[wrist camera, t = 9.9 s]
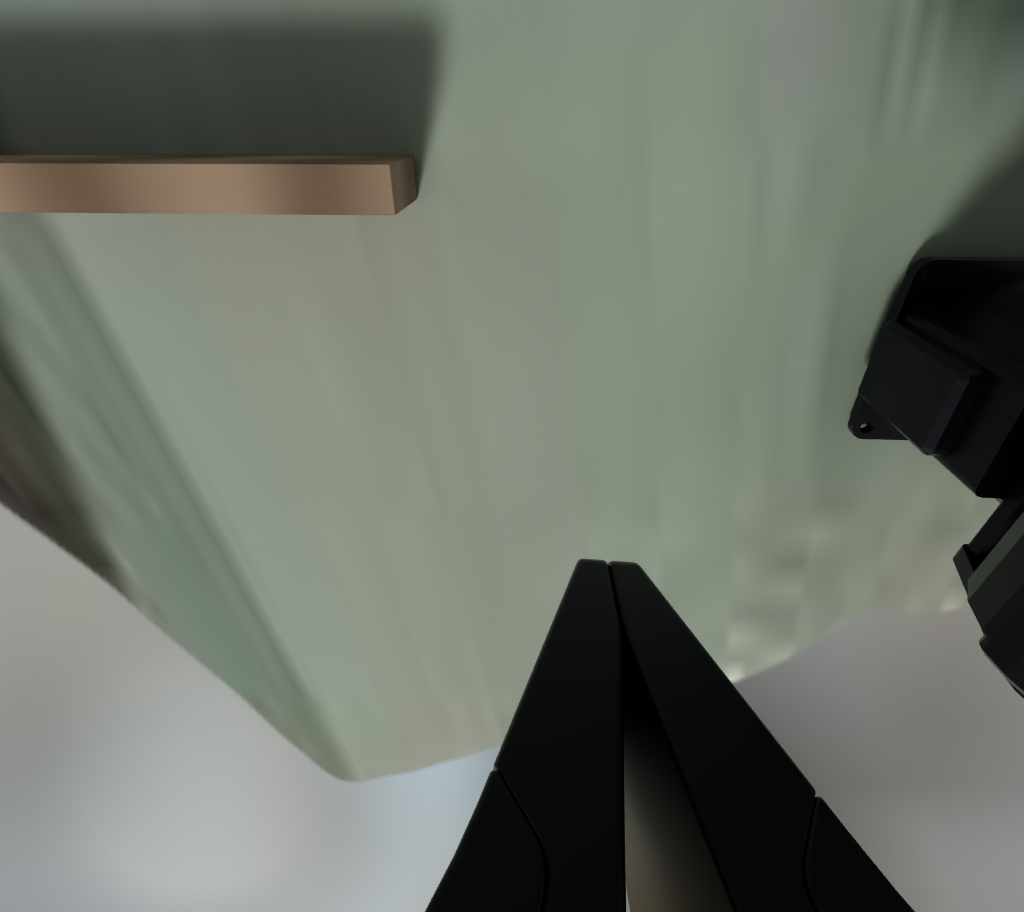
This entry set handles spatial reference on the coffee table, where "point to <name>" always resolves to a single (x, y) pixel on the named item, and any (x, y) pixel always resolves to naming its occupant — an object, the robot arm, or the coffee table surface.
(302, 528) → the coffee table surface
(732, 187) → the coffee table surface
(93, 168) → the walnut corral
